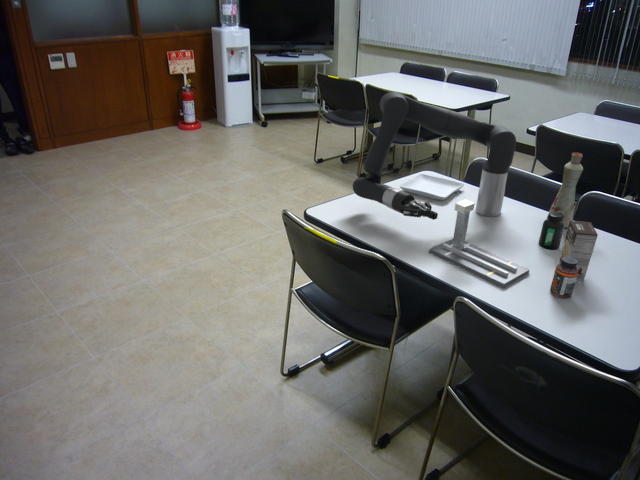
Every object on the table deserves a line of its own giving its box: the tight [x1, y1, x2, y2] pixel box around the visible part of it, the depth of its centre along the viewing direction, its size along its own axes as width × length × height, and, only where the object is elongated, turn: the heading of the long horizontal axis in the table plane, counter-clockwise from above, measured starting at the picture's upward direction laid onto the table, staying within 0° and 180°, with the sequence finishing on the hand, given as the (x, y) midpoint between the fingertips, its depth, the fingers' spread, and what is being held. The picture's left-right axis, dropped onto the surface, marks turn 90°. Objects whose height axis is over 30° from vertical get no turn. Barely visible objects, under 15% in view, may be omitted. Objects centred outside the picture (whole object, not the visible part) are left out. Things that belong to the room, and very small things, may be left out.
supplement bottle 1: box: [538, 211, 565, 251], centre depth 178 cm, size 7×7×12 cm
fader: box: [451, 199, 476, 251], centre depth 170 cm, size 5×4×16 cm
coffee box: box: [558, 220, 598, 282], centre depth 161 cm, size 9×6×16 cm
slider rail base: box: [428, 238, 530, 289], centre depth 168 cm, size 14×28×3 cm, turn 40°
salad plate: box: [399, 173, 465, 201], centre depth 224 cm, size 21×21×3 cm
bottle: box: [546, 152, 584, 229], centre depth 191 cm, size 9×9×28 cm
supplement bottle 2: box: [549, 257, 578, 299], centre depth 151 cm, size 6×6×11 cm
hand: (436, 216), depth 176 cm, fingers closed
